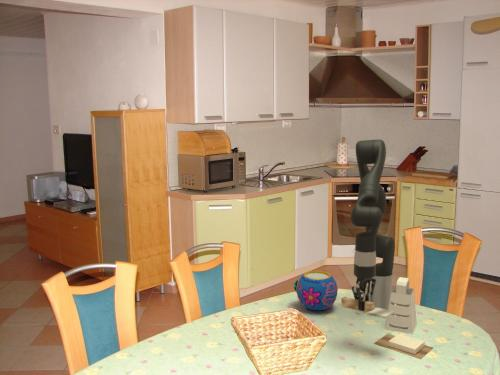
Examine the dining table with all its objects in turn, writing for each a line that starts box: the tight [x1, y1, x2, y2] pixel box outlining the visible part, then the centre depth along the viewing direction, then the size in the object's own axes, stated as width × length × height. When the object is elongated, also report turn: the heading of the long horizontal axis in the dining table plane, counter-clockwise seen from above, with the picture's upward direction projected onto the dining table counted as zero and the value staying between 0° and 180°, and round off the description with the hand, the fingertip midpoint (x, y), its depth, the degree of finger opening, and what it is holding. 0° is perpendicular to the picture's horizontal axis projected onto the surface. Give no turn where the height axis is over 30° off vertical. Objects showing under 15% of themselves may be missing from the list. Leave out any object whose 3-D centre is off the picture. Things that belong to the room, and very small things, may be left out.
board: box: [373, 333, 434, 360], centre depth 191 cm, size 11×18×1 cm, turn 49°
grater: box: [384, 276, 418, 335], centre depth 206 cm, size 10×10×20 cm
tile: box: [388, 333, 426, 355], centre depth 190 cm, size 8×2×10 cm
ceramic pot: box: [293, 270, 339, 311], centre depth 227 cm, size 18×18×15 cm
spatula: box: [340, 296, 395, 320], centre depth 187 cm, size 18×6×3 cm, turn 49°
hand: (363, 309), depth 188 cm, fingers closed on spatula, 2 cm apart
